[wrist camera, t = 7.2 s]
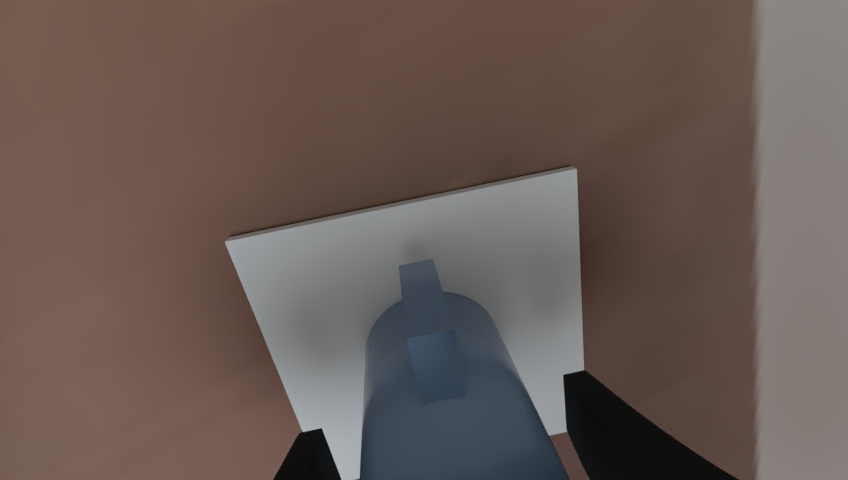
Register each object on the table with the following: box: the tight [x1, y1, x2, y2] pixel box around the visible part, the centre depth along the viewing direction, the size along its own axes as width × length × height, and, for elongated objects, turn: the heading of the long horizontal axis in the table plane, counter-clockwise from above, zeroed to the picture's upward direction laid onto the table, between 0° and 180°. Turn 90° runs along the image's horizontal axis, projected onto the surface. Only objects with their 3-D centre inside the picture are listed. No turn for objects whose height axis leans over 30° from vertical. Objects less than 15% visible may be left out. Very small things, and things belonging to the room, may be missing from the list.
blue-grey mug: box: [360, 259, 570, 480], centre depth 11 cm, size 7×5×6 cm
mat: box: [225, 166, 584, 480], centre depth 14 cm, size 11×11×1 cm
